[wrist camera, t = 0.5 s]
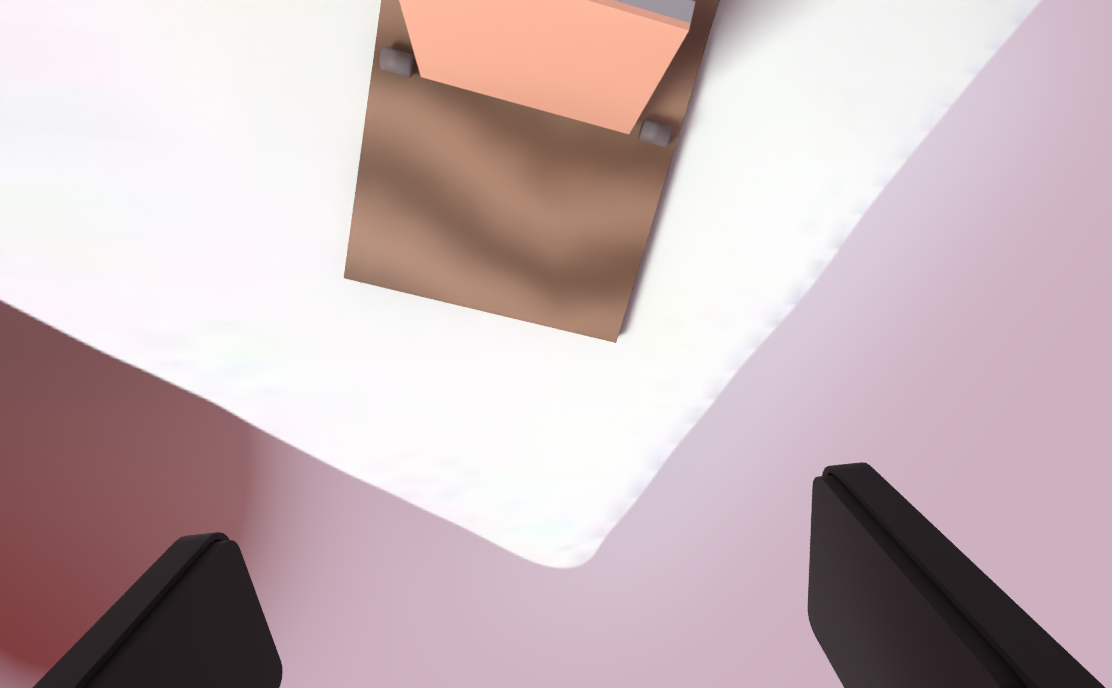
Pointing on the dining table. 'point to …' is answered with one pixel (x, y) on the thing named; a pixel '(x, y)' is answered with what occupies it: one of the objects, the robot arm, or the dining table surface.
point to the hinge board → (509, 191)
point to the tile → (552, 51)
